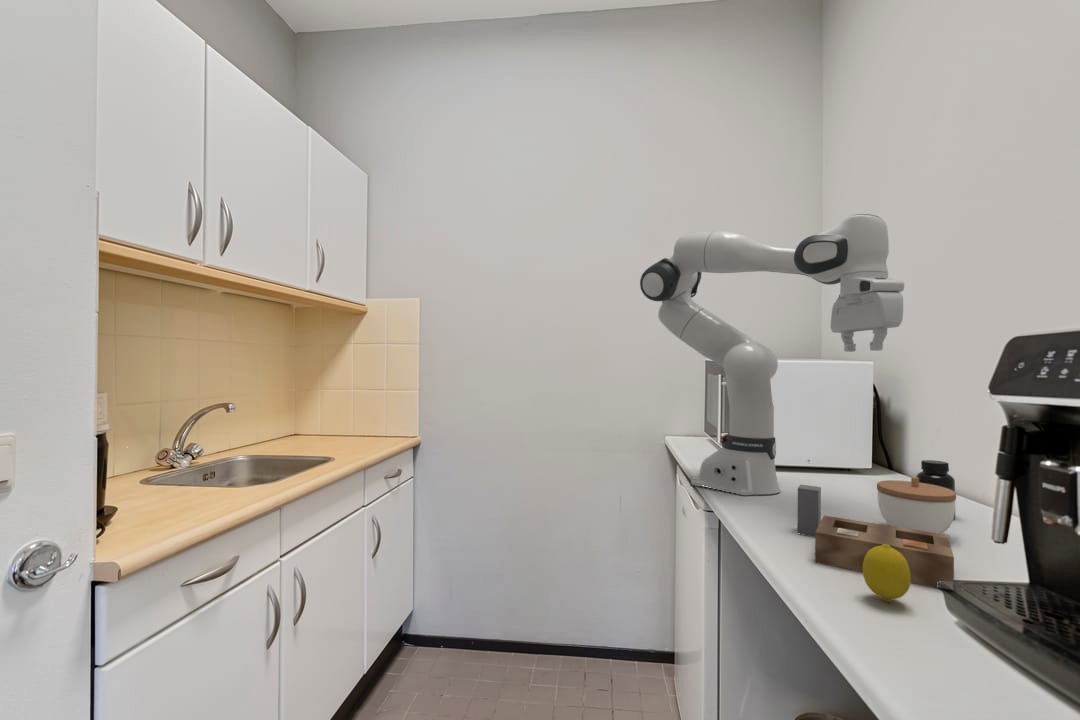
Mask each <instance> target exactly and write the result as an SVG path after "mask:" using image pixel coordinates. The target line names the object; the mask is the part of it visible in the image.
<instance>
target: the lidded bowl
mask: <svg viewBox="0 0 1080 720" xmlns="http://www.w3.org/2000/svg"><path fill="white" fill-rule="evenodd" d="M910 478H911V479H910V481H909V480H897V479H894V480H888V479H887V480H881V481H878V482H876V489H877V502H878V508H879V511H880V514H881V517H882V518H883V520H884V521H885V522H886V523H887V524H888V526H894V527H900V528H906V529H912V530H918V531H925V532H931V533H937V534H944V533H945V532H947V531H948V529H949V528H951V526H952V523H953V521H954V513H955V514H956V500H957V492H956V491H955V492H954V491H953V490H950V489H948V488H944V487H941V486H936V485H932V484H926V483H919V478H916V477H914V476H912V477H910Z"/></svg>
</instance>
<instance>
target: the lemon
mask: <svg viewBox="0 0 1080 720" xmlns="http://www.w3.org/2000/svg"><path fill="white" fill-rule="evenodd" d="M862 576H863V579H864V583H865V584H866V586H867V587H868V588H869V589H870V591H871V592H872V593H874V594H875V595H877V596H878V597H880V598H881V600H882V601H884V602H886V603H888V602H890V601H892V600H895V599H896V600H897V599H900V598H902V597H903V596H906V595H905V594H907V593H908V591H909V589H910V586H911V582H910V581H911V577H910V569H909V566H908V563H907V561H906V559H905V558H904V557H903V555H902V554H901V553H900V552H898V551H897V550H895V549H894V548H891V547H890V546H889V545H888V544H883V545H882V546H876V547H874V548H872V549H870V550H869V551H868V552H867V554H866V555H865V558H864V561H863V572H862Z"/></svg>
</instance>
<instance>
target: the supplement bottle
mask: <svg viewBox="0 0 1080 720" xmlns="http://www.w3.org/2000/svg"><path fill="white" fill-rule="evenodd" d="M920 462H921V463H920V464H921V465H920V469H921V470H922V471H920V472H918V473H917V474H916V478H919V483H926V484H932V485H936V486H941V487H944V488H948V489H950V490H953V491H954V492H955V493H956V485H955V484H956V482H955V481H956V480H955V479H954V477H953V476H952V475H950V473H948V472H950V468H949V462H947V461H941V460H933V459H932V460H931V459H927V460H926V459H924V460H921V461H920ZM955 517H956V512H955V513H954V518H955ZM954 518H953V519H954Z"/></svg>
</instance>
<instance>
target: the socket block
mask: <svg viewBox="0 0 1080 720" xmlns="http://www.w3.org/2000/svg"><path fill="white" fill-rule="evenodd" d="M814 540H815V541H814V552H815V553H814V562H815V561H816V562H815V563H818V562H820V563H819V564H822V563H824V564H823V565H827V564H828V566H832V565H833V567H837V568H841V569H842V568H843V569H847V570H851V571H856V572H861V573H863V561H864V558H865V555H866V554H867V552H868V551H869V550H870V549H872V548H874V547H876V546H882V545H883V544H888V545H889V546H890V547H891V548H894V549H895V550H897V551H898V552H900V553H901V554H902V555H903V557H904V558H905V559H906V561H907V563H908V566H909V569H910V577H911V581H910V583H913V584H918V585H922V586H927V587H933V588H935V589H936V588H937V582H939V581H954V582H955V580H954V579H955V566H954V565H955V556H954V553H953V550H952V549H953V548H952V546H951V542H950V540H949V535H948V534H944V533H942V534H937V533H931V532H925V531H918V530H912V529H906V528H900V527H894V526H890V525H889V524H888V525H886V524H880V523H873V522H867V521H863V520H862V521H861V520H858V519H857V520H856V519H850V518H844V517H838V516H837V517H836V516H830V515H825V514H824V515H823V516H822V517H821V522H820V524H819V526H818V528H817V530H816V532H815V538H814ZM937 589H938V588H937Z"/></svg>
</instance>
